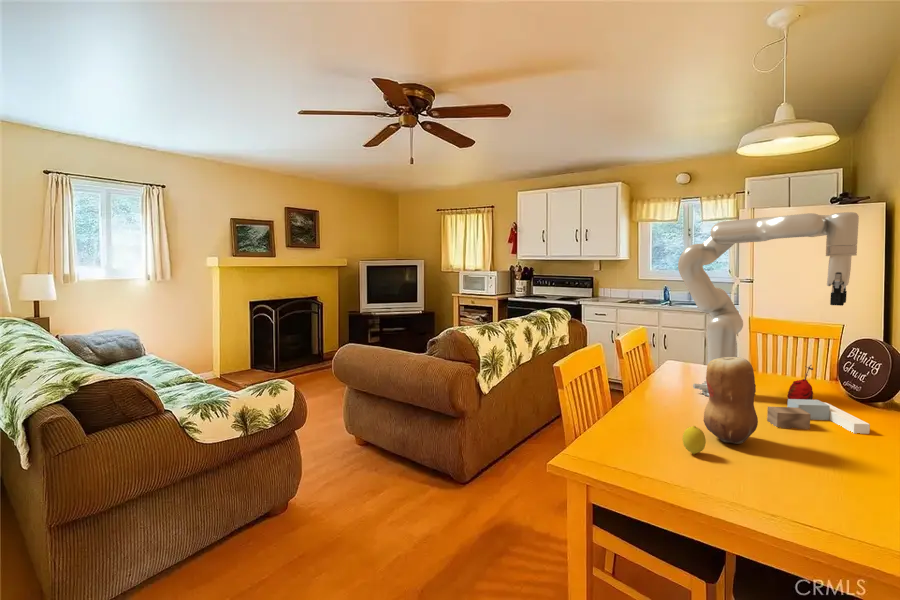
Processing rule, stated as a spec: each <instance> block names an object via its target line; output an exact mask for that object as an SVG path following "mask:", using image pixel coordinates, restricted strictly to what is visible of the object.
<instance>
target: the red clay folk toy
mask: <svg viewBox="0 0 900 600" xmlns="http://www.w3.org/2000/svg"><path fill="white" fill-rule="evenodd" d="M804 367H805V368H806V369H807V370H806V373H805V374H804V375H805V376H804V378H802V379H799V380H793V381H792V384H791V385H790V387H789V389H788V391H787V395H786V396H787V400H788V399H806V400H814V399H813V398H814V396H813V395H814V391H813V386H812V384H811V383H809V381H808V379H807V376H809V375H808V373H809V370H811V371H814V367H812V364H810V365H809V366H806V365H804Z"/></svg>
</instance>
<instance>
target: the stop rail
mask: <svg viewBox="0 0 900 600" xmlns="http://www.w3.org/2000/svg"><path fill="white" fill-rule="evenodd" d="M822 402H823V403H825V404H827V405H829V406H830V409H829V420H828V421H830V422H832V423H834V424H836V425H838V426H839V425H840V426H839V427H841V426H842V428H844V429H845V430H847V431H849V432H850V431H851V433H852V432H853V433H852V434H857V433H860V434H861V435H862V434H863V435H870V427H871V424H870V423H868V422H866V421H864V420H862V419H860V418H858V417H856V416H854V415H852V414H850V413H848V412H846V411H844V410H843V409H840V408H838V407H836V406H834V405H832V404H831V403H828V402H824V401H822ZM860 434H859V435H860Z"/></svg>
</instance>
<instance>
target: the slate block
mask: <svg viewBox="0 0 900 600" xmlns="http://www.w3.org/2000/svg"><path fill="white" fill-rule="evenodd" d="M823 402H824V401H821V400H819V399H812V400H806V399H788V398H787V406H786V407H794V408H801V409H802V410H804V411H806V412H808V413H809V414H811V416H810V421H811V420H815V421H816V420H817V421H830V420H829V409H830V406H829V405H827V404H825V403H826V402H825V403H823Z"/></svg>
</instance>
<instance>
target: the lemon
mask: <svg viewBox="0 0 900 600" xmlns="http://www.w3.org/2000/svg"><path fill="white" fill-rule="evenodd" d="M706 442H707V440H706V435H705V432H704V431H702V429H701V428H699V427H697V426H696V425H692V426H689V427H687V428H686V429H684V431H683V434H682V443H683V446H684V448H685V450H687V451H688V452H690V453H691V454H692V455H696V454H697V453H702V452H703V450H704V449H705V447H706Z"/></svg>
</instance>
